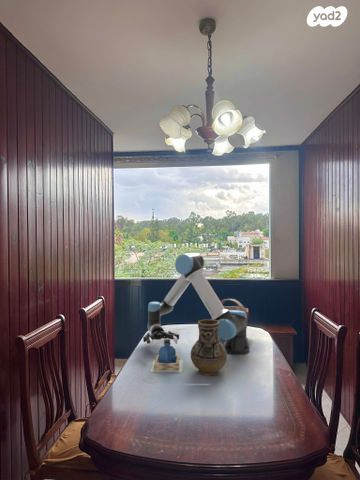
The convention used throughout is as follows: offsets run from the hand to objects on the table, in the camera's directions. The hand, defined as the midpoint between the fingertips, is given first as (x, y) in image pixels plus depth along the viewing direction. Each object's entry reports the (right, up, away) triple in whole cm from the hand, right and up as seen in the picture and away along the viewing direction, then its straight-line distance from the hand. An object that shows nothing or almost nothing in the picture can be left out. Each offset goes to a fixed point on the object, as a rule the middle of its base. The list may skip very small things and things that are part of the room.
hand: (164, 342), depth 186 cm
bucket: (+43, -10, +43) cm, 62 cm away
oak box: (+2, -10, -7) cm, 12 cm away
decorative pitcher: (+23, -10, -14) cm, 29 cm away
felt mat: (+2, -10, -7) cm, 13 cm away
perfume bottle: (+2, -9, -7) cm, 11 cm away
